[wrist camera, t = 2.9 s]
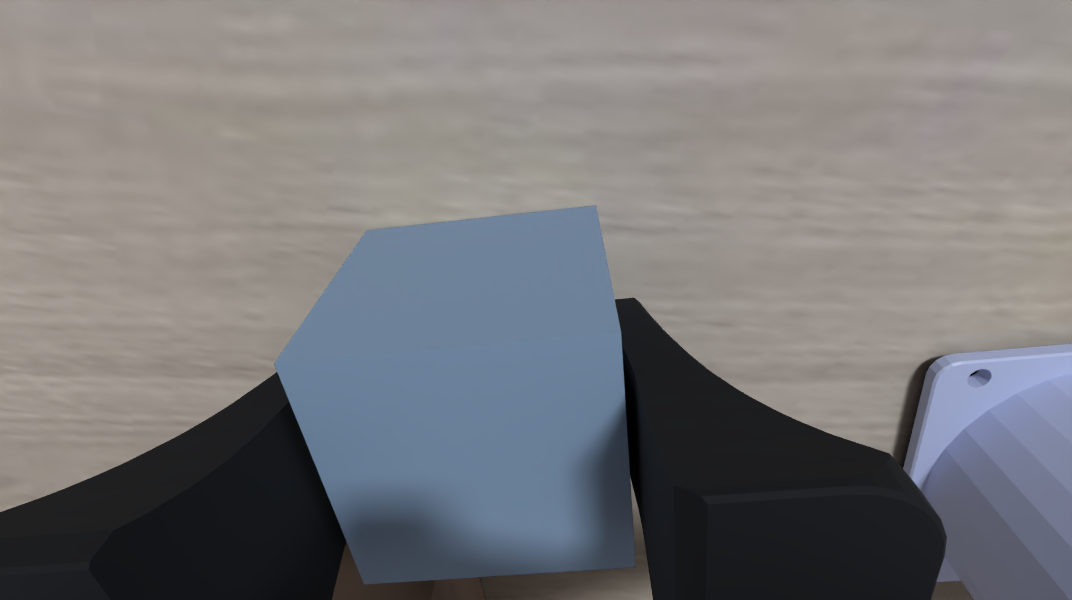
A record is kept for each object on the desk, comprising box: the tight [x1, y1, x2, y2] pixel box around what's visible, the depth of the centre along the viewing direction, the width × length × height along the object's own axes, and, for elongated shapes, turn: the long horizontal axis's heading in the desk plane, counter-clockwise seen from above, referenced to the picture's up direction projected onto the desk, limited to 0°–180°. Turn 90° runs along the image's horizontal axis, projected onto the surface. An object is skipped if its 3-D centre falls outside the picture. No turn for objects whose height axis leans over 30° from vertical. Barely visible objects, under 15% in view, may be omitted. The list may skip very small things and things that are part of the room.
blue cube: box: [274, 206, 636, 584], centre depth 12 cm, size 5×5×5 cm
